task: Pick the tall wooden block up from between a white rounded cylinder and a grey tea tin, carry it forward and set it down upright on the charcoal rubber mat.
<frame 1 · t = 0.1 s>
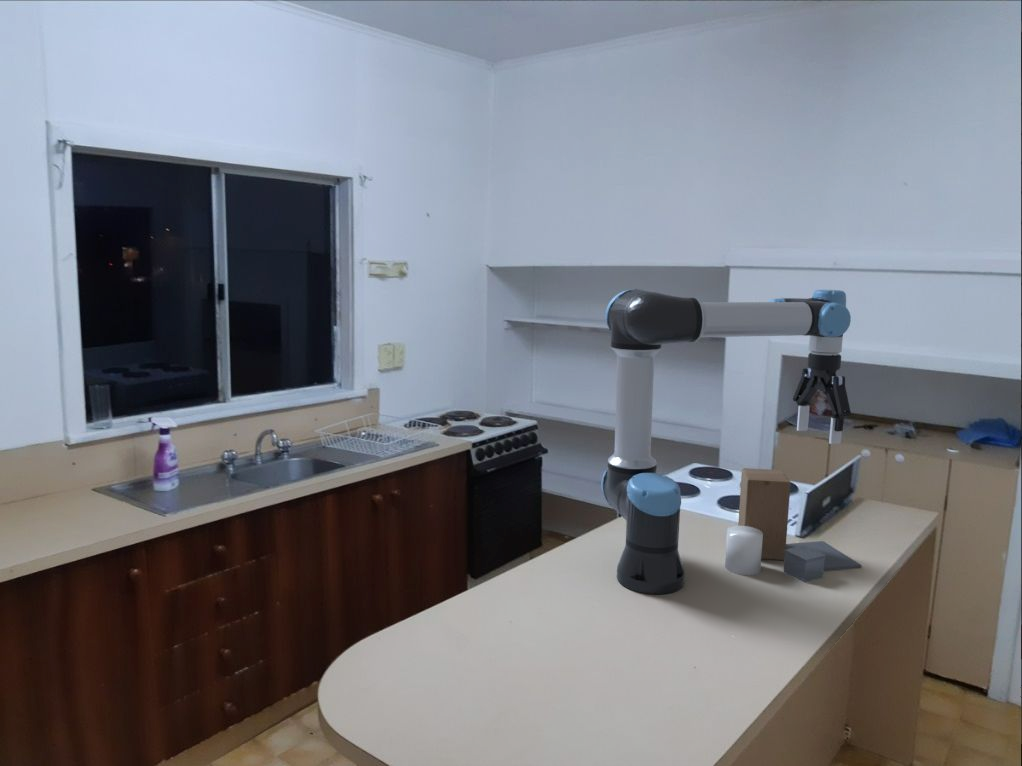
hand: (817, 436, 185), 28 cm above the worktop, fingers open, 13 cm apart
tea tin: (803, 575, 171), on the worktop
mat: (819, 556, 181), on the worktop
wooden block: (760, 552, 184), on the worktop
white rounded cylinder: (742, 568, 174), on the worktop
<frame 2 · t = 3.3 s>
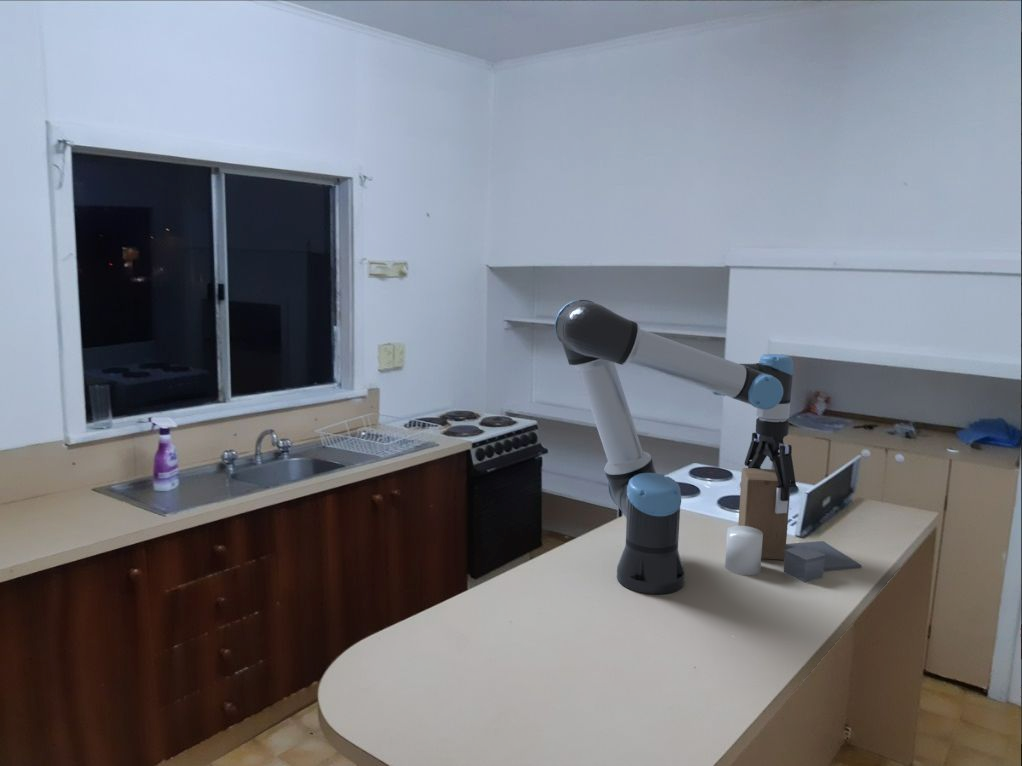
hand: (766, 504, 182), 12 cm above the worktop, fingers closed on wooden block, 12 cm apart
wooden block: (760, 552, 184), on the worktop, touching gripper
everything else where it was.
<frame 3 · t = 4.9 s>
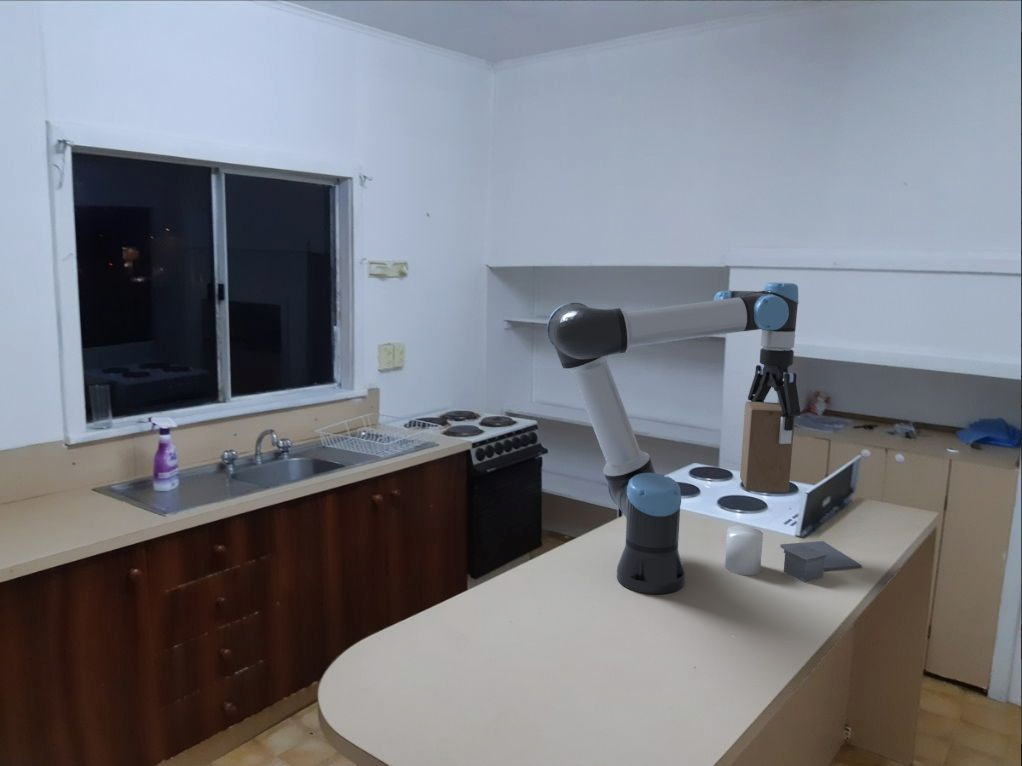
hand: (770, 436, 179), 29 cm above the worktop, fingers closed on wooden block, 12 cm apart
wooden block: (763, 486, 181), point 17 cm above the worktop, touching gripper
everything else where it was.
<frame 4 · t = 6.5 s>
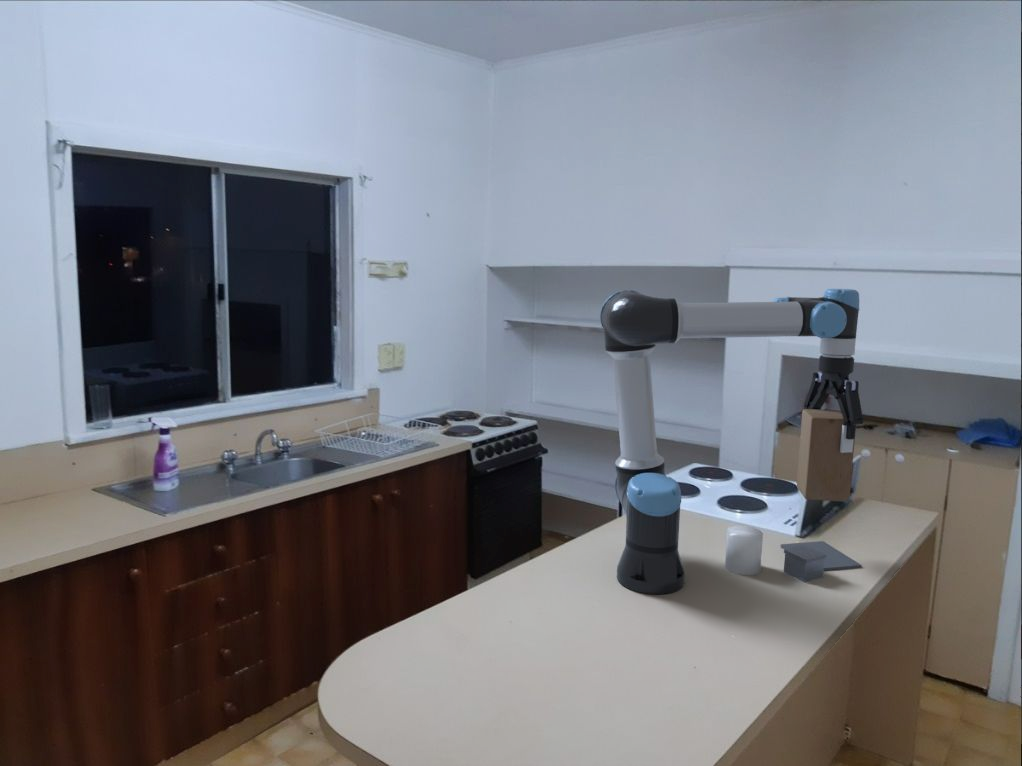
hand: (829, 445, 176), 28 cm above the worktop, fingers closed on wooden block, 12 cm apart
wooden block: (821, 495, 178), point 16 cm above the worktop, touching gripper
everything else where it was.
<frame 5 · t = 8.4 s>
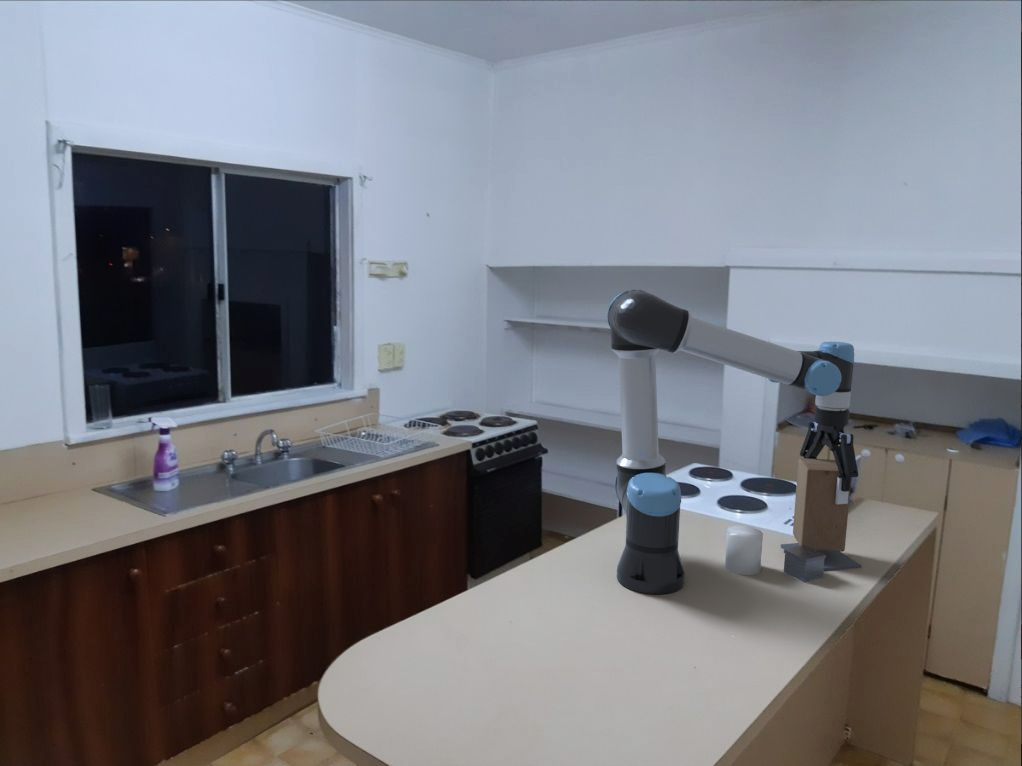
hand: (824, 495, 178), 16 cm above the worktop, fingers closed on wooden block, 12 cm apart
wooden block: (817, 543, 181), point 3 cm above the worktop, touching gripper
everything else where it was.
when the fingers open (14 cm above the worktop, at t = 9.9 s): wooden block drops 2 cm, resting on mat.
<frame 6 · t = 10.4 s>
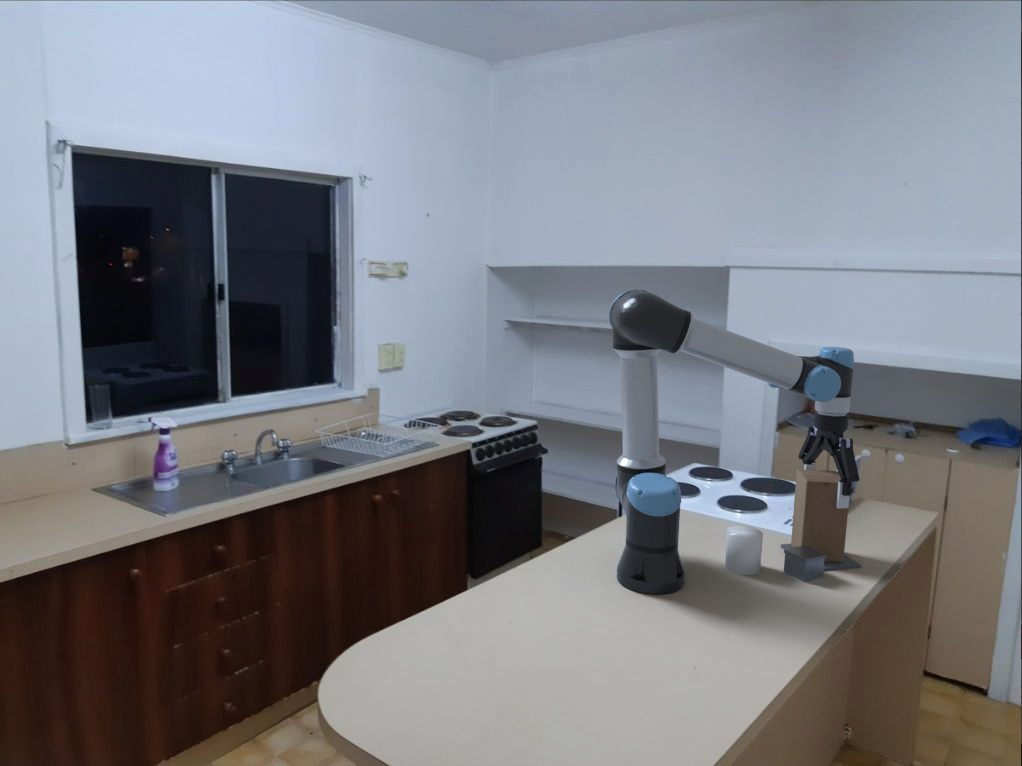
hand: (824, 498, 179), 15 cm above the worktop, fingers open, 13 cm apart
wooden block: (816, 554, 181), resting on mat
everything else where it was.
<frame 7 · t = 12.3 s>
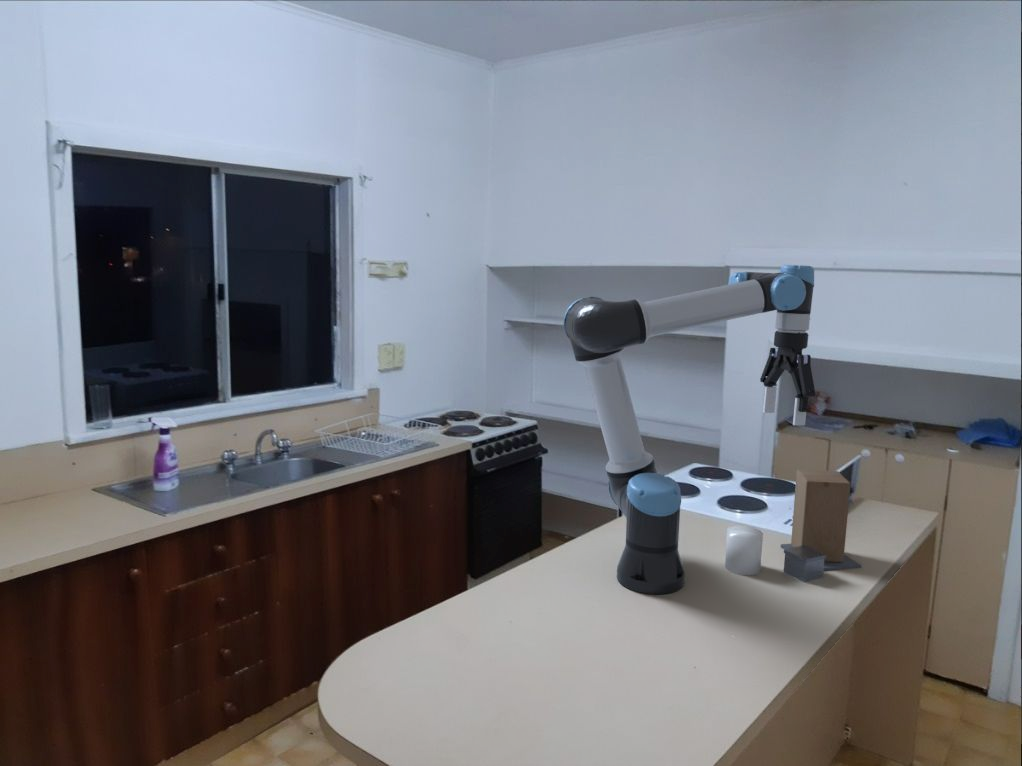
hand: (783, 418, 178), 34 cm above the worktop, fingers open, 13 cm apart
nothing on the worktop moved.
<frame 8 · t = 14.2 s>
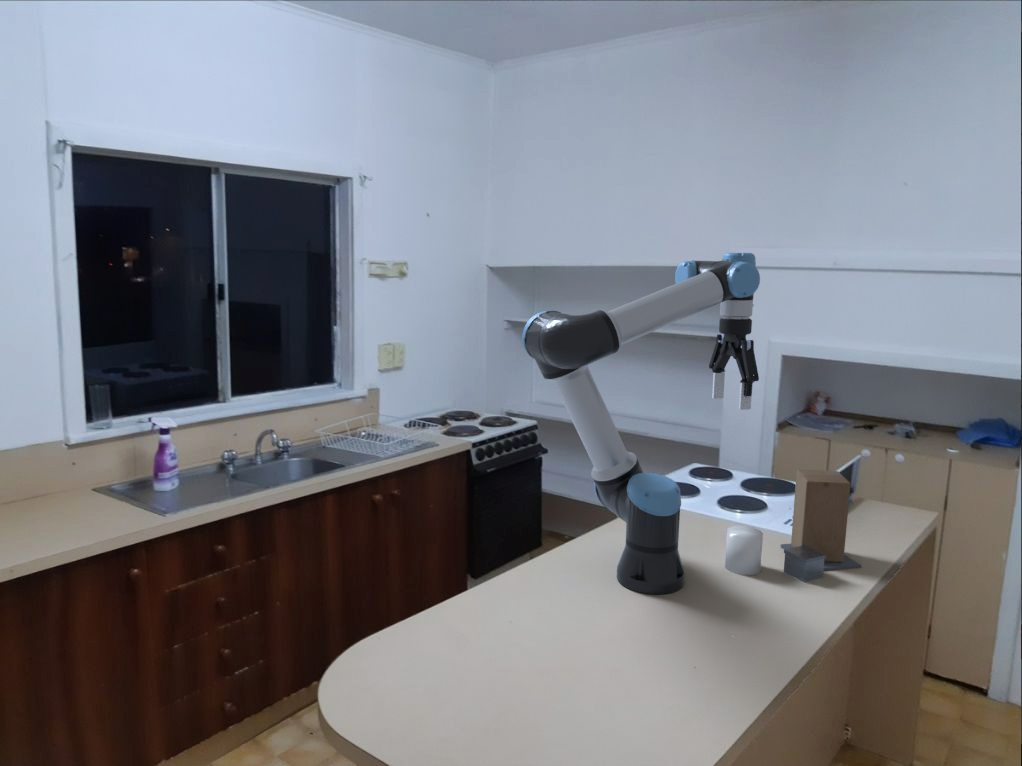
hand: (730, 403, 182), 37 cm above the worktop, fingers open, 13 cm apart
nothing on the worktop moved.
at the end: wooden block inside the target area on the mat (0.8 cm from its centre), point 0.4 cm above the mat's base; wooden block tilted 0°; the gripper is holding nothing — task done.
